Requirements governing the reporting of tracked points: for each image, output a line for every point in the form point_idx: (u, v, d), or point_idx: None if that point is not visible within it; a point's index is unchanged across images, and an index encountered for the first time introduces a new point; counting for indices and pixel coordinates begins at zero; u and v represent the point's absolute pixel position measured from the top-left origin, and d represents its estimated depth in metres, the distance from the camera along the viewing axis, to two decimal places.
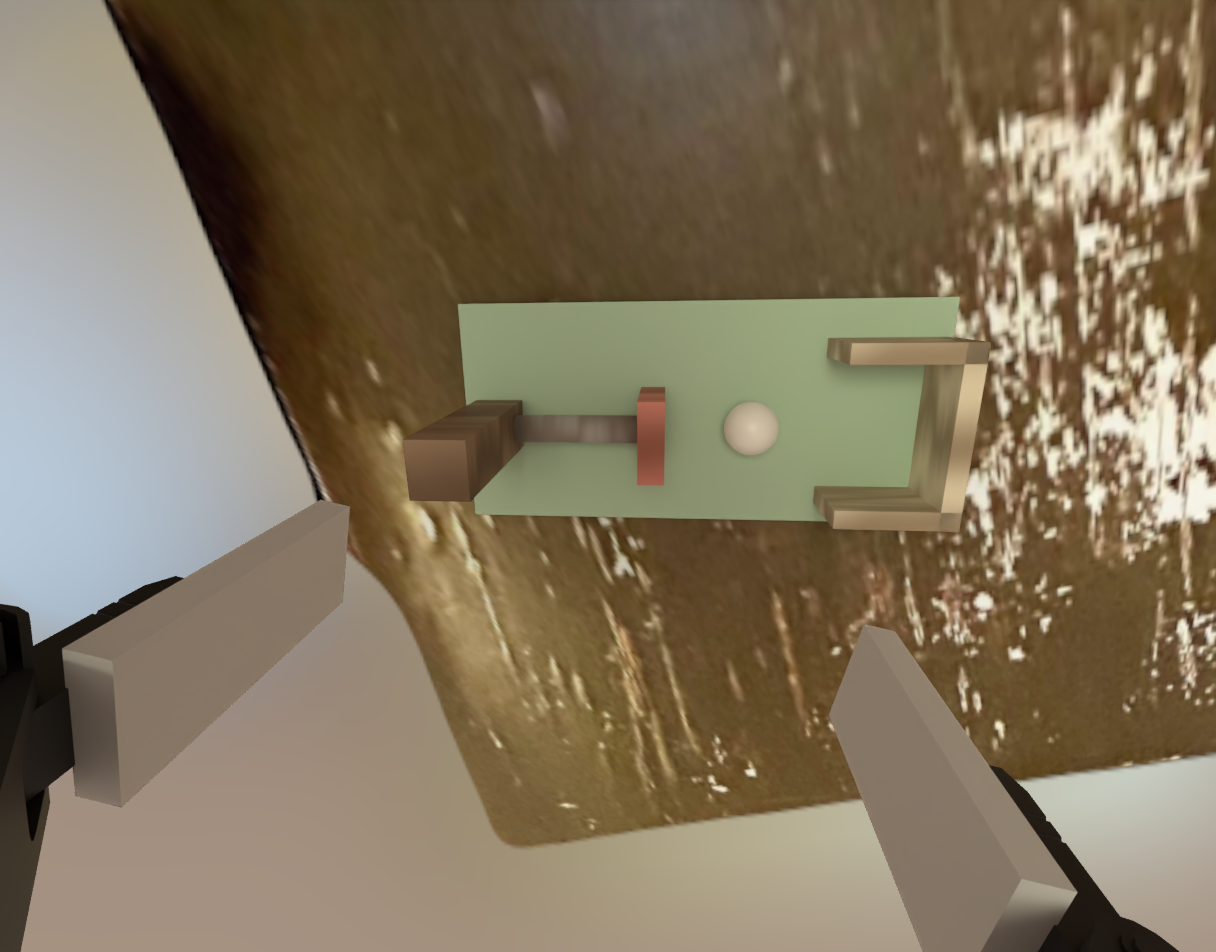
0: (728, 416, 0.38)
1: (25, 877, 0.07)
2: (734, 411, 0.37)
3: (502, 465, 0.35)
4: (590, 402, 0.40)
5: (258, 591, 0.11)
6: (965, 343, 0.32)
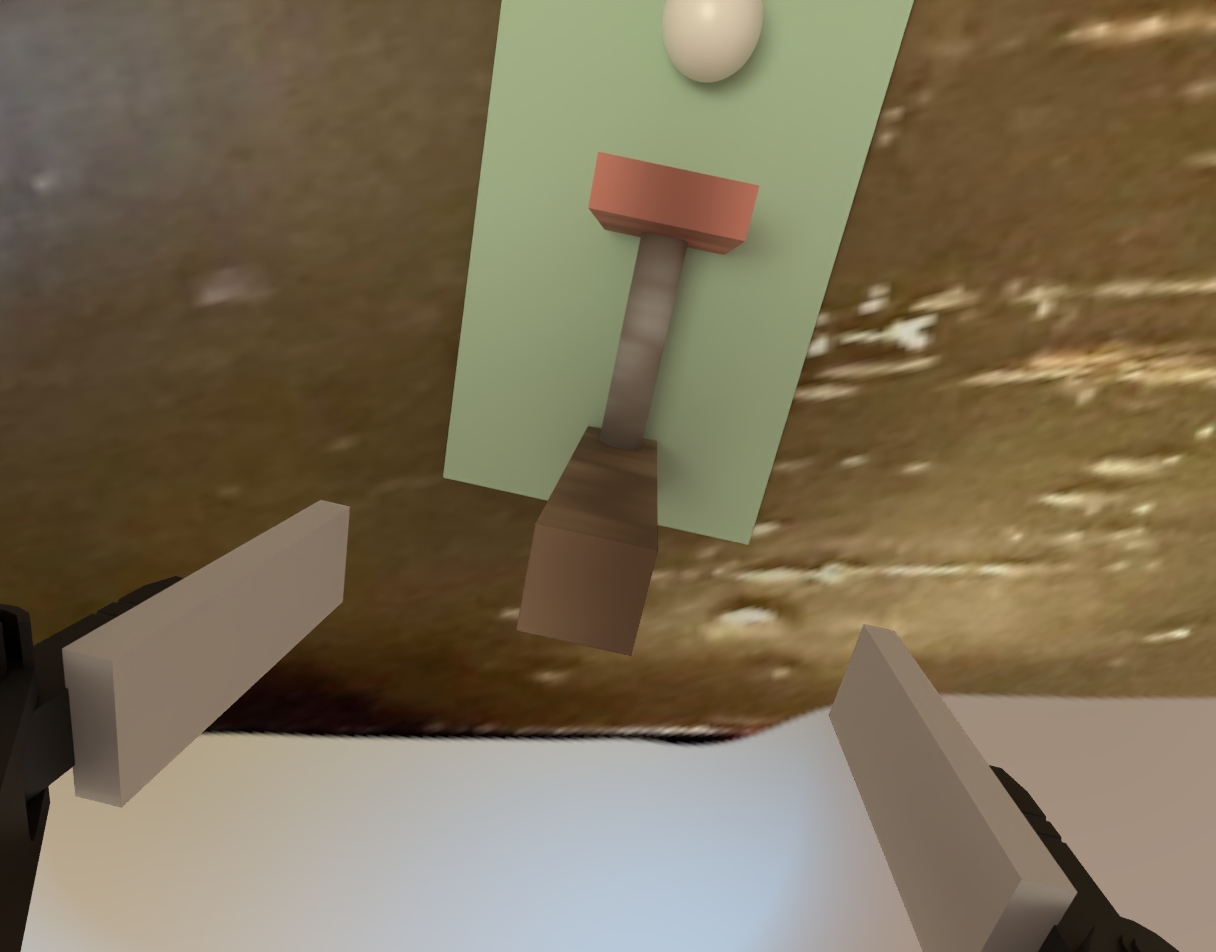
0: (678, 64, 0.21)
1: (25, 877, 0.07)
2: (670, 48, 0.20)
3: (652, 478, 0.21)
4: (614, 321, 0.25)
5: (258, 592, 0.11)
6: None
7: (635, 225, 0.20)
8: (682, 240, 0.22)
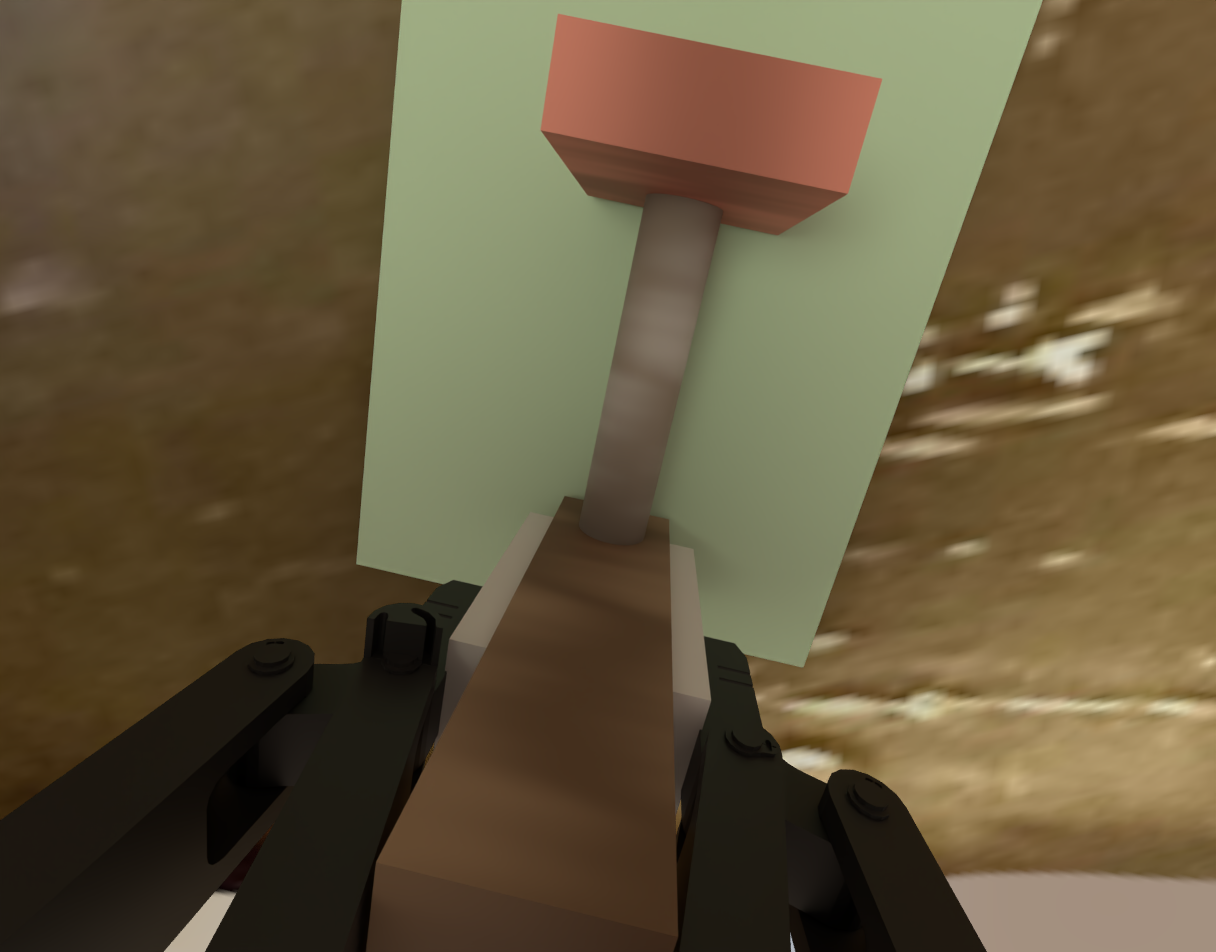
0: None
1: None
2: None
3: (663, 619, 0.12)
4: (604, 339, 0.16)
5: None
6: None
7: (634, 175, 0.11)
8: (715, 206, 0.13)
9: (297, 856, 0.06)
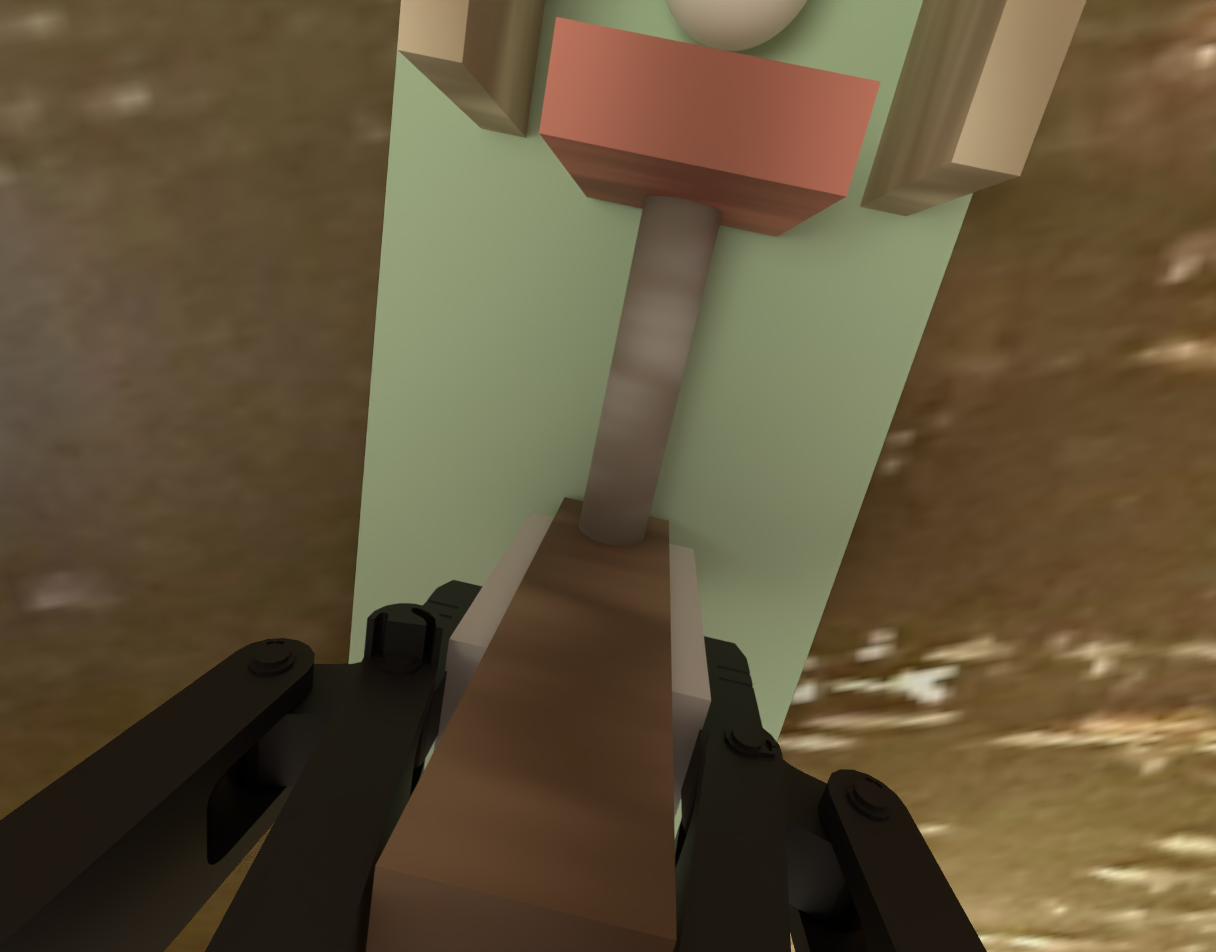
0: None
1: None
2: None
3: (662, 620, 0.12)
4: None
5: None
6: None
7: (633, 177, 0.11)
8: (714, 208, 0.13)
9: (297, 856, 0.06)
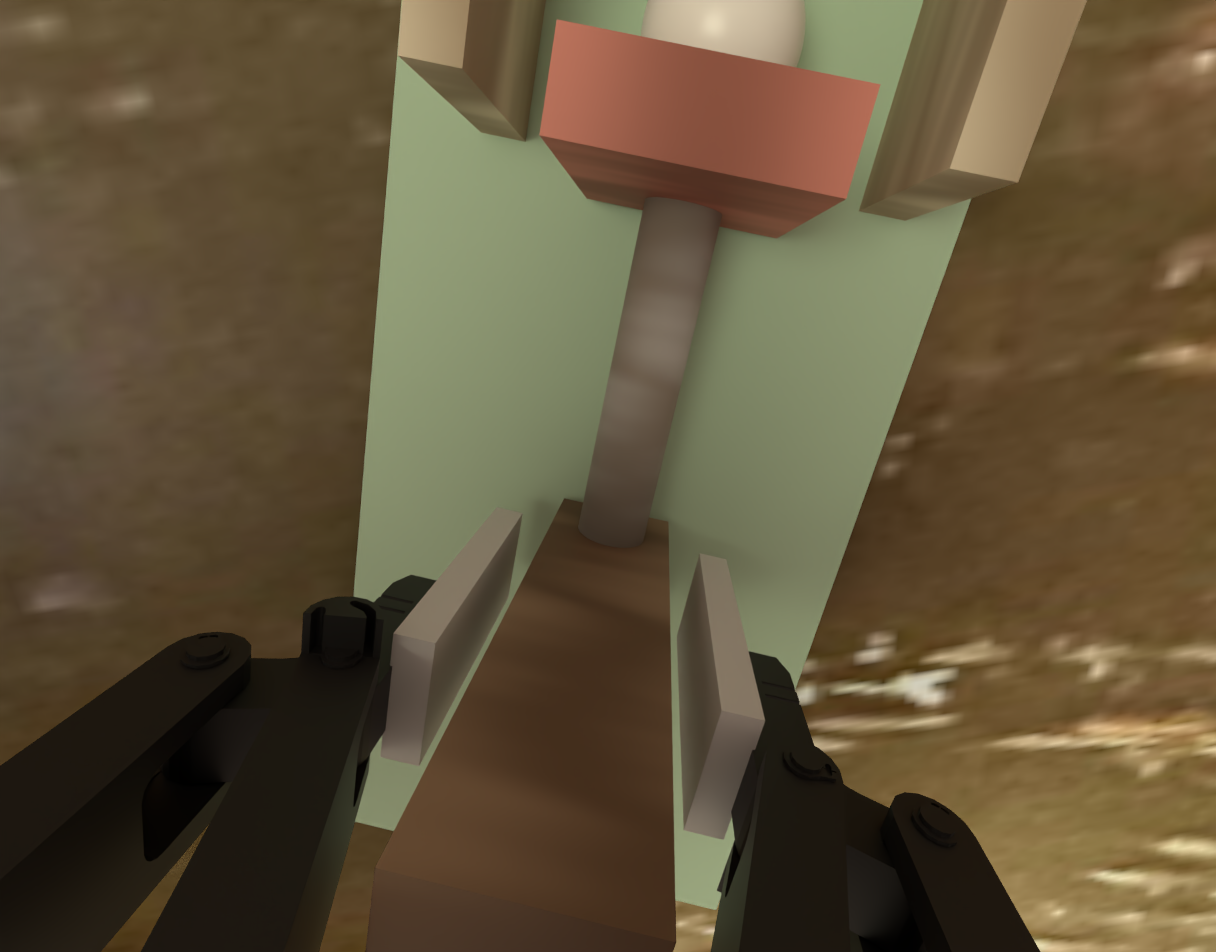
0: None
1: (345, 839, 0.09)
2: None
3: (662, 622, 0.12)
4: None
5: (484, 588, 0.13)
6: None
7: (633, 179, 0.11)
8: (714, 210, 0.13)
9: (235, 855, 0.06)
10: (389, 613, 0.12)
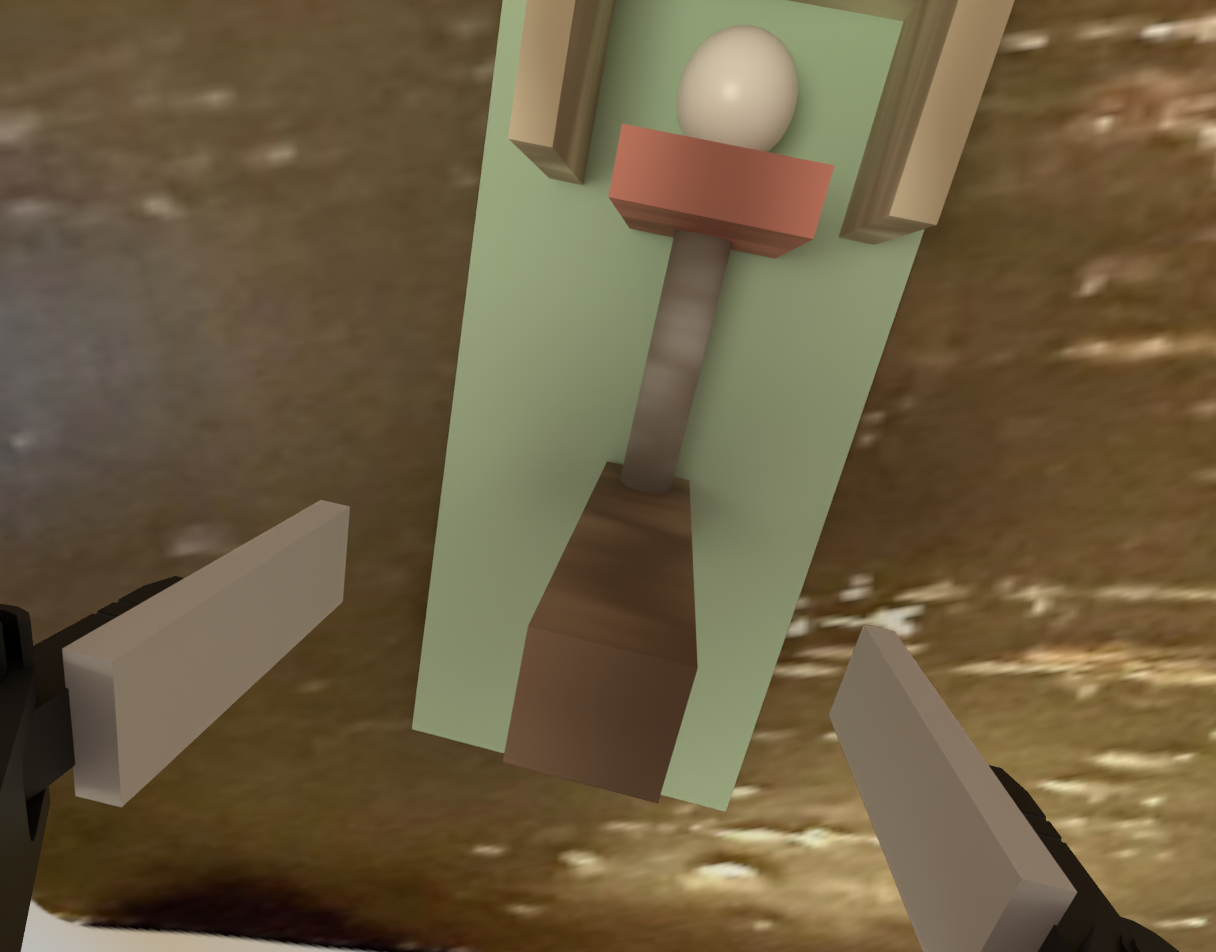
0: None
1: (25, 877, 0.07)
2: None
3: (686, 537, 0.17)
4: None
5: (258, 591, 0.11)
6: None
7: (668, 220, 0.16)
8: (726, 240, 0.17)
9: None
10: None
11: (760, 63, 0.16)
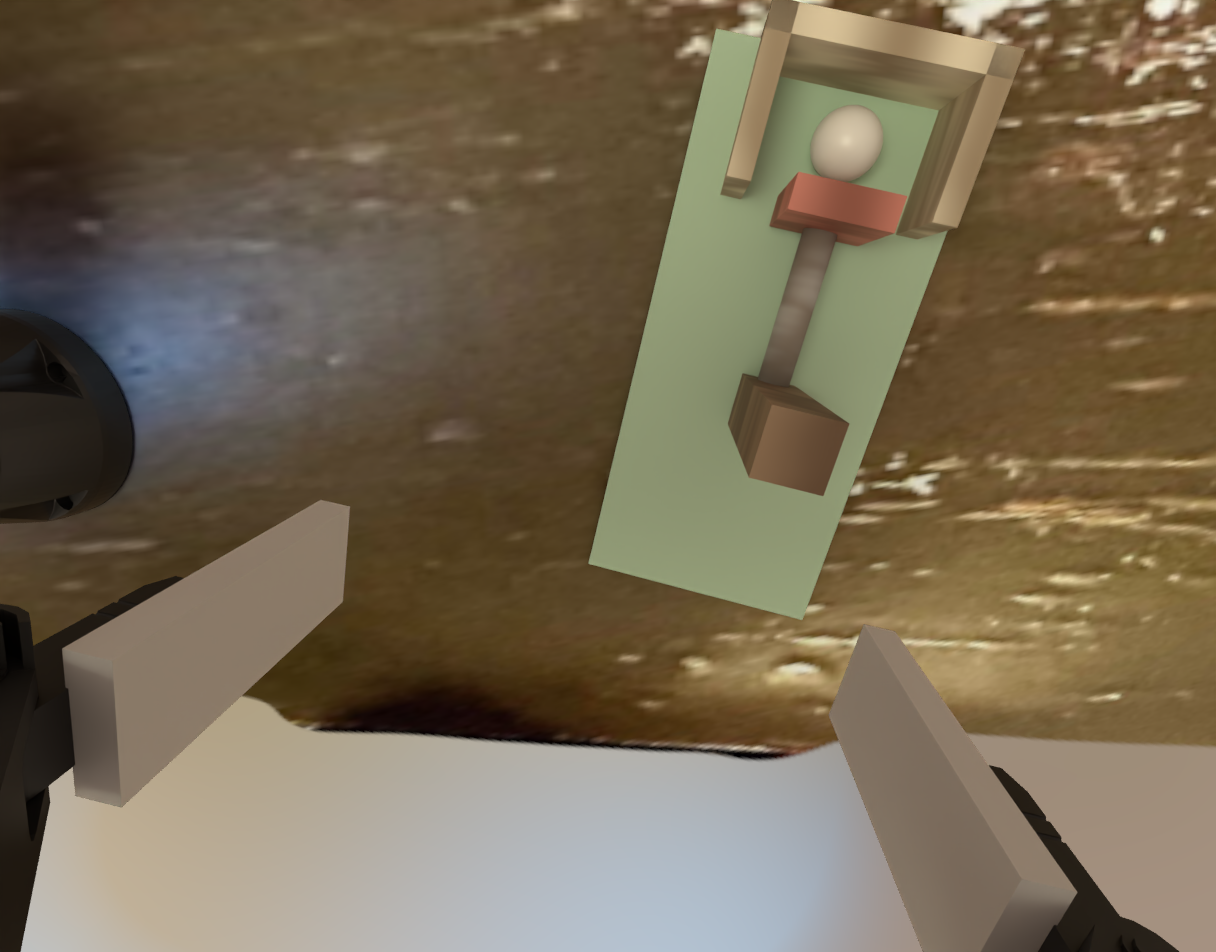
0: None
1: (25, 877, 0.07)
2: None
3: (812, 399, 0.29)
4: (717, 468, 0.37)
5: (258, 591, 0.11)
6: (765, 31, 0.26)
7: (808, 222, 0.29)
8: (835, 233, 0.30)
9: None
10: None
11: (868, 120, 0.28)
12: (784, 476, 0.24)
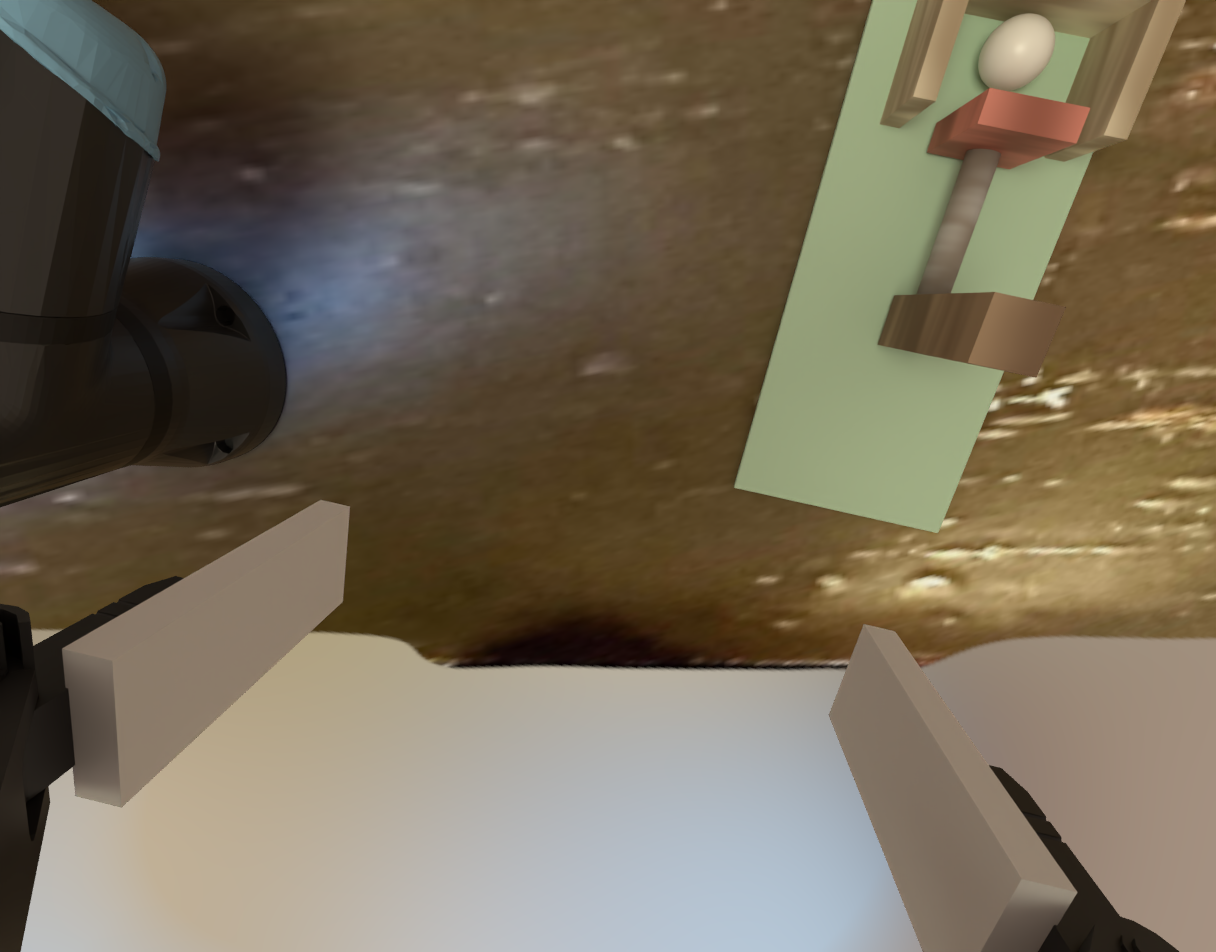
0: None
1: (25, 877, 0.07)
2: None
3: None
4: (863, 389, 0.40)
5: (258, 591, 0.11)
6: None
7: (983, 140, 0.31)
8: (1001, 153, 0.33)
9: None
10: None
11: (1044, 17, 0.31)
12: (1001, 360, 0.27)
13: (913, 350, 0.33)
